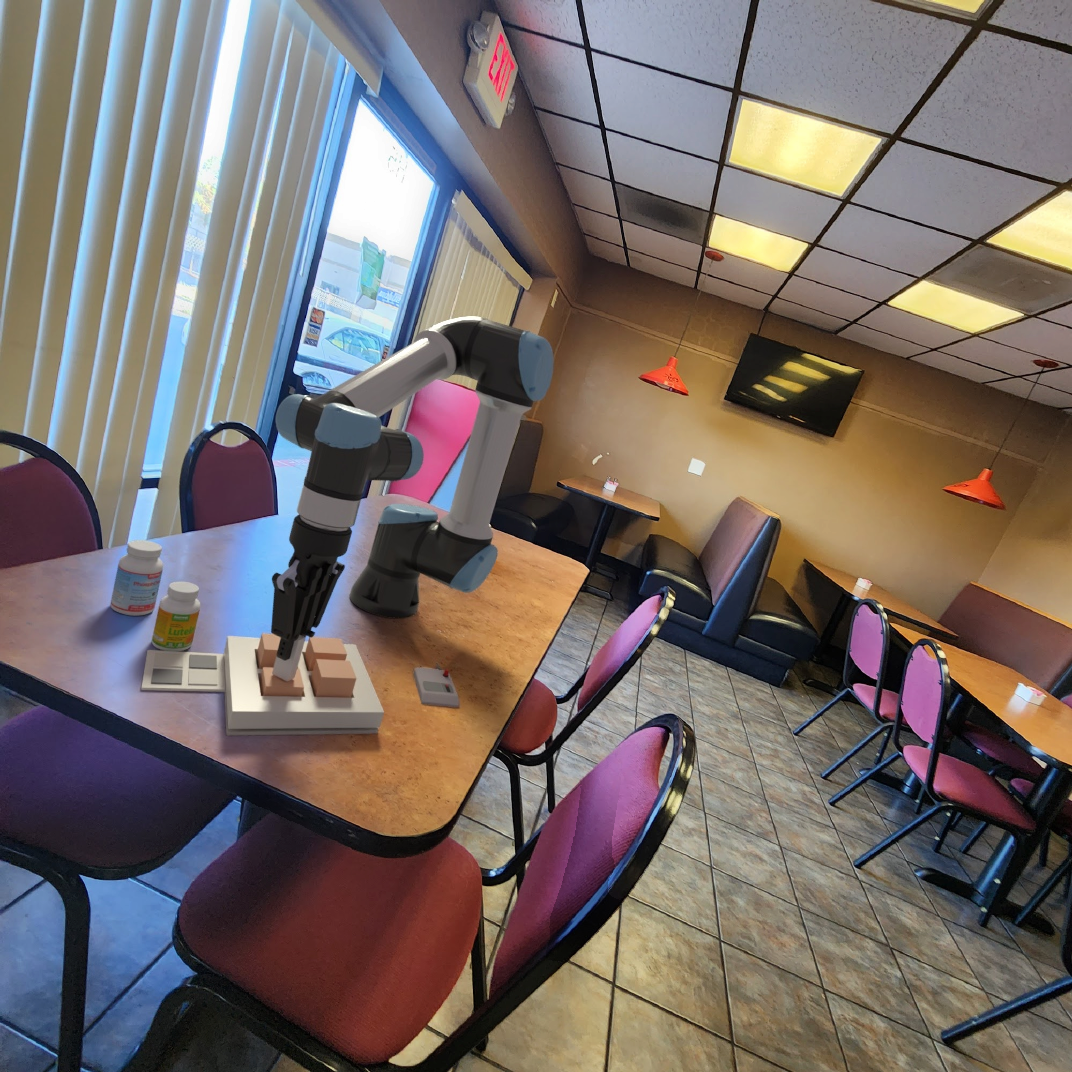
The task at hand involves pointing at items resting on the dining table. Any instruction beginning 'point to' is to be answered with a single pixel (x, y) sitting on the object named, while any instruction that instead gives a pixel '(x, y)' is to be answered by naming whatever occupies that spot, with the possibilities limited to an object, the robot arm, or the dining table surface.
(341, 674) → the button
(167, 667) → the card
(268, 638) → the button
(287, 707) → the board
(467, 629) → the dining table surface
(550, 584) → the dining table surface
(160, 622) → the supplement bottle
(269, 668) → the button
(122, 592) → the pill bottle
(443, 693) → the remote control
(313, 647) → the button
